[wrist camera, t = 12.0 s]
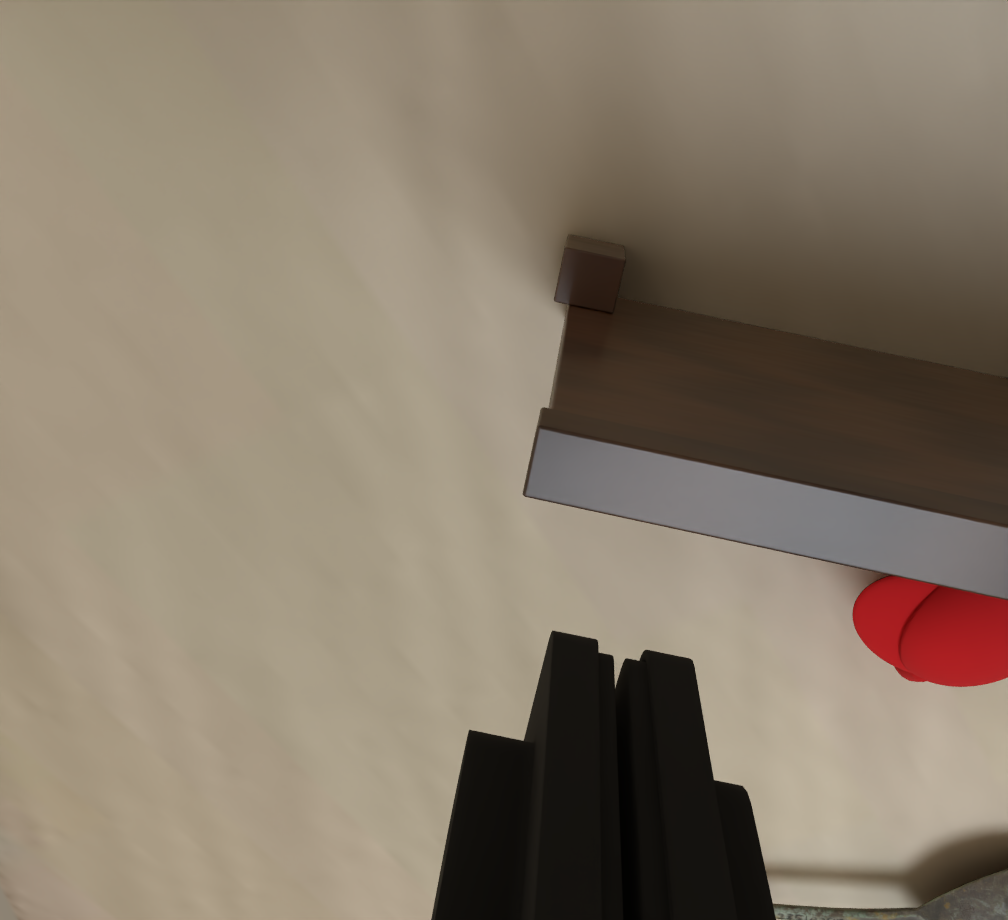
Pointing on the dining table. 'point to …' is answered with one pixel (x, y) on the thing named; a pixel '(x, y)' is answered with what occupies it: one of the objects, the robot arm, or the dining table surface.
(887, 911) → the soupspoon
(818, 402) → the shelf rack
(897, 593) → the red rounded piece
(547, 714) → the robot arm
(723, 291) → the dining table surface
